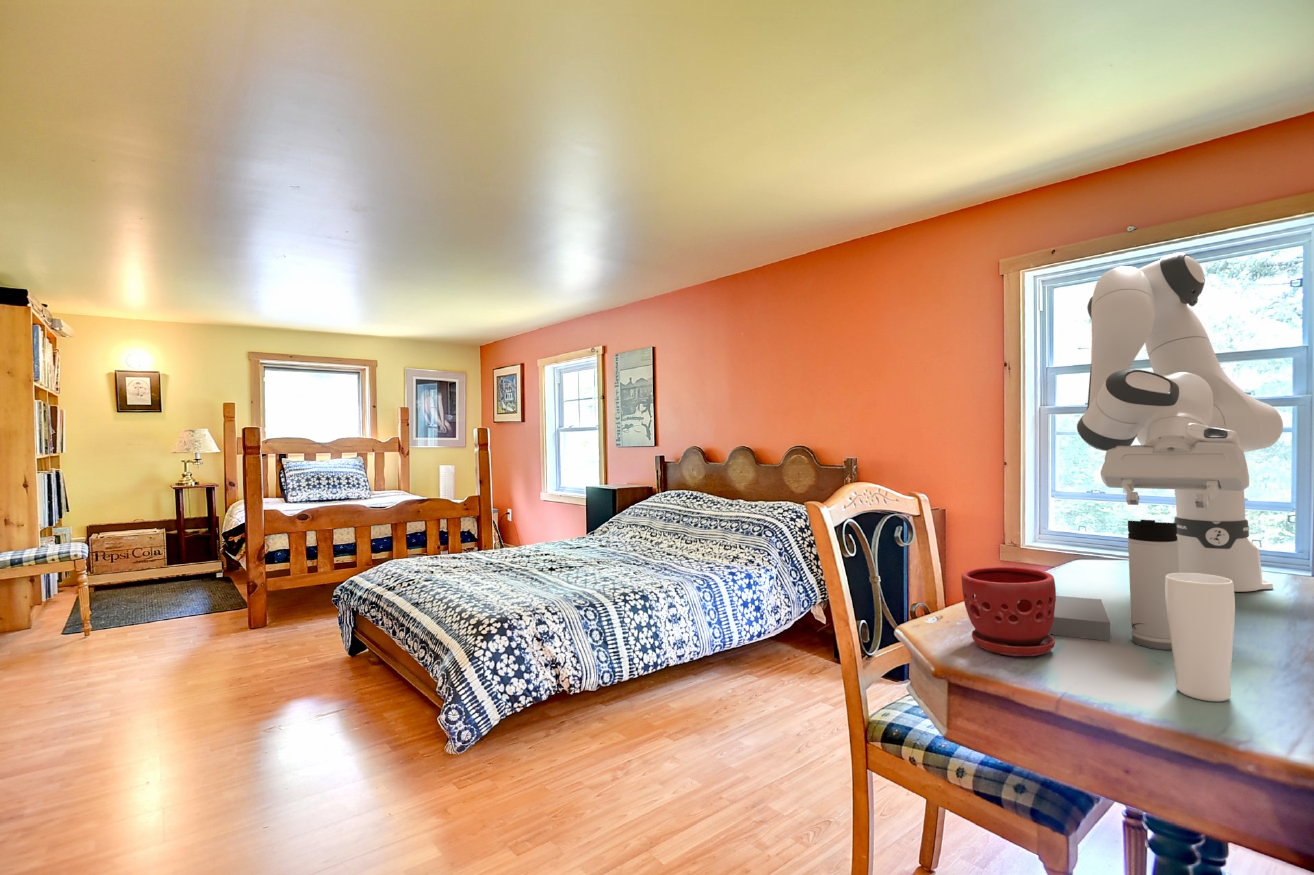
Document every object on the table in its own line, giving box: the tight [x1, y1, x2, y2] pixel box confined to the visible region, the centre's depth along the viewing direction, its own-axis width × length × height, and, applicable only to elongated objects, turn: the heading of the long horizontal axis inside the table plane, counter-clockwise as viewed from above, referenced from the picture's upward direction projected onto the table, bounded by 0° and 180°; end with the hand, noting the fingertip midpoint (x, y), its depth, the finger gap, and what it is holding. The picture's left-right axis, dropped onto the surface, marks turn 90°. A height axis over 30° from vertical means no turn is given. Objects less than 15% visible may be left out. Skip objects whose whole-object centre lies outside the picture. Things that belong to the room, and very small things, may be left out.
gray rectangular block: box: [1018, 595, 1112, 642], centre depth 113 cm, size 16×14×3 cm
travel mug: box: [1127, 519, 1179, 651], centre depth 100 cm, size 6×7×20 cm
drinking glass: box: [1165, 573, 1236, 703], centre depth 81 cm, size 7×7×15 cm
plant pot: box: [960, 566, 1057, 658], centre depth 101 cm, size 13×13×12 cm
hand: (1165, 504), depth 108 cm, fingers open, 8 cm apart
